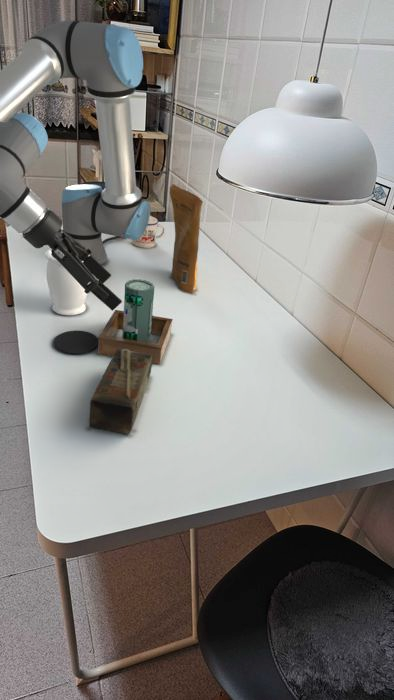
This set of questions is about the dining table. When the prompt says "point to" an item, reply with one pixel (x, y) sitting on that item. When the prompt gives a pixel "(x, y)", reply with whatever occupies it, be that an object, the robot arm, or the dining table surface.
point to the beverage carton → (120, 391)
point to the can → (138, 310)
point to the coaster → (76, 342)
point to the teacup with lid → (149, 234)
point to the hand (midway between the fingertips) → (111, 291)
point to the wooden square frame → (111, 344)
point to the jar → (64, 289)
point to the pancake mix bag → (185, 237)
